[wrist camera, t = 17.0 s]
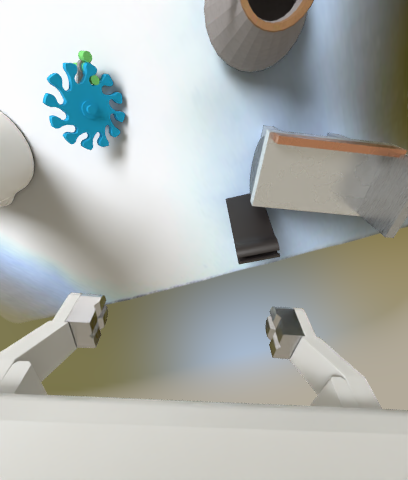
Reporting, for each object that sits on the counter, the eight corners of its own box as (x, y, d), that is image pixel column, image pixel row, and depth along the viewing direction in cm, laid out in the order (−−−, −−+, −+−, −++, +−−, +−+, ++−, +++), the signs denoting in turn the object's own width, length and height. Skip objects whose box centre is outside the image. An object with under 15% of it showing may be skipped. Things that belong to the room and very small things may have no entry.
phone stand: (264, 233, 46) (281, 275, 36) (233, 239, 47) (242, 282, 37) (259, 190, 41) (277, 225, 31) (225, 198, 42) (232, 234, 32)
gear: (123, 154, 36) (48, 146, 29) (104, 144, 40) (32, 135, 32) (132, 68, 32) (45, 33, 24) (109, 65, 35) (27, 33, 28)
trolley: (239, 186, 41) (258, 241, 27) (253, 118, 35) (285, 143, 21) (324, 195, 42) (384, 252, 28) (350, 130, 36) (442, 161, 22)
